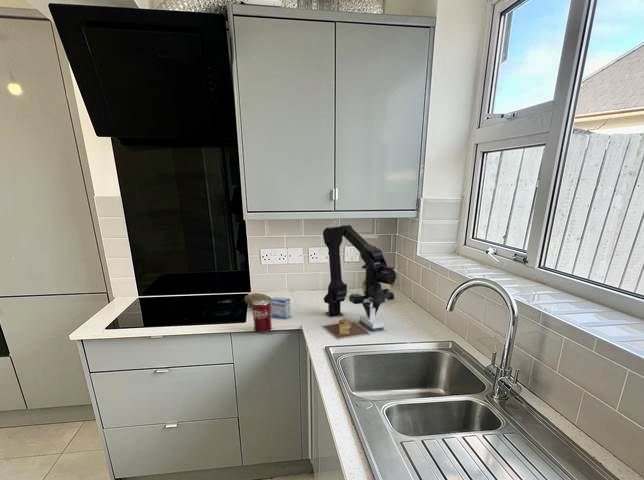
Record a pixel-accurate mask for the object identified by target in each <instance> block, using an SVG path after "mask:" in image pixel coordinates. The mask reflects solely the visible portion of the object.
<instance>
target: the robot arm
mask: <svg viewBox="0 0 644 480" xmlns="http://www.w3.org/2000/svg"><path fill="white" fill-rule="evenodd" d="M322 237H323V242H324V244H325V246H326V247H327V250H328V251H327V252H328V261H329V275H330V282H329V284H328V287H327V293H326V295H324V297H323V302H324V304H327V305H328V306H327V307H328V308H327V309H328V311H326V312H325V314H326V315H327V316H329V317H330V318H334V317H341V316H344V313H342V312H341V310H342V309H341V306H342V305H341V303H342V302H345V299H346V297H347V295H348V285H347V284H348V283H345V282H344V281H343V277H342V265H341V264H342V263H341V251H340V247H341V245H342V243H343V238H345V239H346V241H348V242H349V243H350V244H351V246H352V247H354V248H355V249H356V250H357V251H358V252H359V254H360V258H361V259H362V261H363V262H364V264H363V265H362V266H361V269H363V270H365V278H366V282H364V285H365V292H363V295H362V294H360V293H353V294H350V295H349V296H348V301H349V302H350V303H352V304H354V305H360V304H361V305H362V306H363V308H364V311H365V315H366V314H367V317H369V316H370V307H371V304H372V307H374V308H375V316H376V315H377V313H378V311H379V308H380V306H381V305H382V304H383V303H385V302H386V300H387V301H393V300H395V293H393V291H391V289H390V290H389V289H381V284H380V283H385V284H389V285H391V286H392V285H393V284H394V283H395V282H396V280H397V273H396V271H395V269H394V267H393V266H388V263H387V261H386V258H385V256H384V255H383V251H382V250H381V249H380V248H378V247H377V246H375V245H372V244H370V243H369V242H367V241H366V240H365V238H363V237H362V236H361V235H360V234H359V233H358V232H357V231H356V230H355V229H354V228H353V226H352V225H350V224H343V225H340V226H329V227H325V228H324V230H323V231H322ZM379 282H380V283H379ZM371 299H373V300H372V303H371V302H370V300H371Z"/></svg>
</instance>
